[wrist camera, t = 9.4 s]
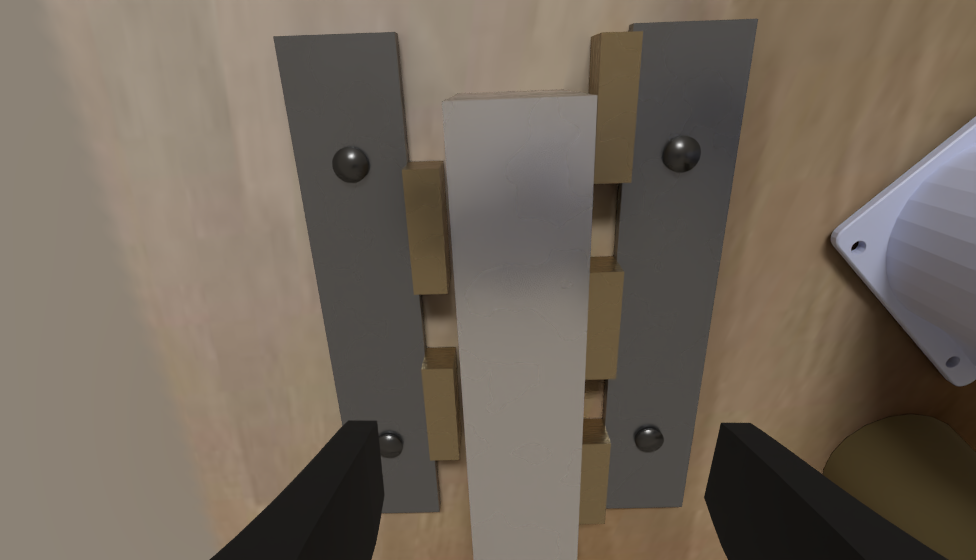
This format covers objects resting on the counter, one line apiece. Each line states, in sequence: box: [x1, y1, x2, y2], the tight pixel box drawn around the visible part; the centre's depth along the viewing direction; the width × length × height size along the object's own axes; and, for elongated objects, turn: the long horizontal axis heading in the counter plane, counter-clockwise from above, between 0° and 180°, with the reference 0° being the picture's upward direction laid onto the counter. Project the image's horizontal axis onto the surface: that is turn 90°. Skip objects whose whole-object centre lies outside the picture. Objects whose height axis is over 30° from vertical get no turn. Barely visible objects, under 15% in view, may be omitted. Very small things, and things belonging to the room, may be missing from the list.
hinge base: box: [273, 19, 758, 524], centre depth 19 cm, size 15×20×2 cm
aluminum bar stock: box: [442, 89, 597, 560], centre depth 17 cm, size 4×16×6 cm, turn 2°
